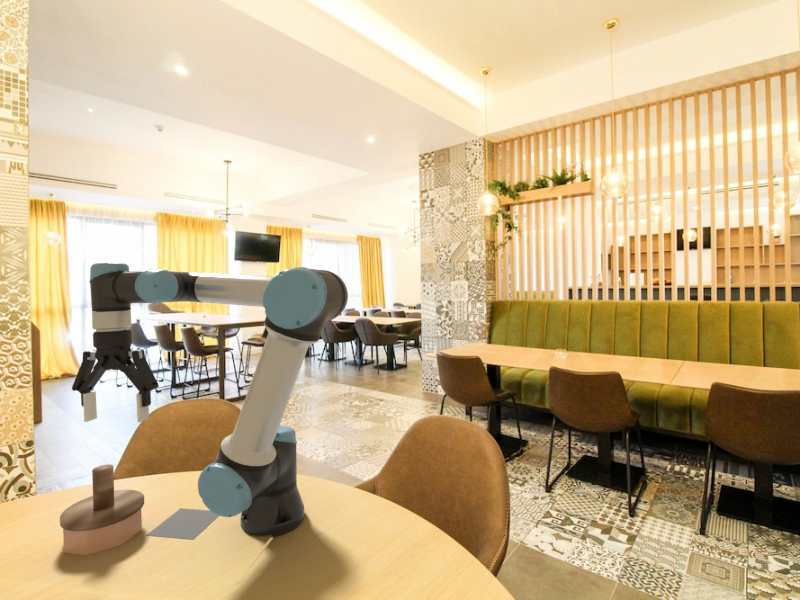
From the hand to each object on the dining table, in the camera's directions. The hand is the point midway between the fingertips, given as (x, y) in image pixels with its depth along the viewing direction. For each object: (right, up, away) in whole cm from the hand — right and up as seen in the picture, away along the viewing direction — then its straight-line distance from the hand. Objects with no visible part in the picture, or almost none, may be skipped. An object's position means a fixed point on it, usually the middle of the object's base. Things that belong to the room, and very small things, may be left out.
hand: (116, 420), depth 98 cm
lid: (-3, -21, 0) cm, 21 cm away
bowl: (-3, -27, 0) cm, 27 cm away
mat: (+14, -27, +4) cm, 31 cm away
